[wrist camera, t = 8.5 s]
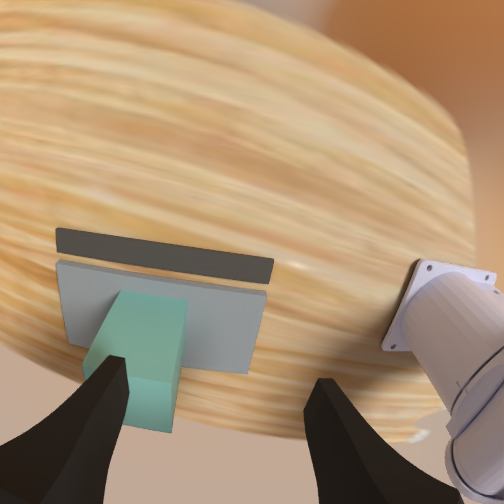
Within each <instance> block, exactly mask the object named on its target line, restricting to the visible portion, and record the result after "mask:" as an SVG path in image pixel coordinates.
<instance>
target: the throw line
mask: <svg viewBox="0 0 504 504" xmlns="http://www.w3.org/2000/svg"><path fill="white" fill-rule="evenodd" d="M56 244H57V252H61V253H66V254H72V255H78V256H84V257H89V258H95V259H101V260H107V261H113V262H119V263H126V264H132V265H138V266H145V267H151V268H158V269H164V270H171V271H177V272H184V273H191V274H198V275H205V276H212V277H219V278H226V279H234V280H241V281H249V282H256V283H264V284H269V281H270V277H271V272H272V268H273V264H274V259H272V258H265V257H258V256H251V255H244V254H237V253H230V252H223V251H216V250H209V249H202V248H195V247H188V246H181V245H174V244H167V243H160V242H154V241H147V240H140V239H133V238H126V237H119V236H112V235H106V234H99V233H92V232H85V231H78V230H72V229H65V228H56Z"/></svg>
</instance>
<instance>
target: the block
mask: <svg viewBox="0 0 504 504" xmlns="http://www.w3.org/2000/svg"><path fill="white" fill-rule="evenodd" d="M187 306H188V301H187V300H181V299H174V298H167V297H161V296H155V295H148V294H142V293H136V292H130V291H125V290H121V291H120V293H119V294H118V296H117V298H116V300H115V302H114V303H113V305H112V307H111V309H110V311H109V313H108V314H107V316H106V318H105V320H104V322H103V324H102V326H101V328H100V330H99V331H98V333H97V335H96V337H95V339H94V341H93V343H92V345H91V347H90V349H89V351H88V353H87V355H86V357H85V359H84V361H83V363H82V369H83V373H84V377H85V381H86V380H87V379H88V378H89V377H90V376H91V374H92V373H93V372H94V371H95V370H96V369H97V368H98V367H99V365H100V364H101V363H102V362H103V361H104V360H105V359H106V357H107V356H109V355H114V356H119V357H124V358H125V361H126V369H127V377H128V384H129V391H130V394H129V399H128V404H127V409H126V414H125V417H124V421H123V425H128V426H133V427H138V428H143V429H148V430H154V431H160V432H166V433H172V426H173V418H174V412H175V405H176V398H177V392H178V385H179V379H180V373H181V366H182V360H183V354H184V344H185V330H186V318H187Z"/></svg>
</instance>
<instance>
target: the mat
mask: <svg viewBox="0 0 504 504" xmlns="http://www.w3.org/2000/svg"><path fill="white" fill-rule="evenodd" d="M56 268H57V277H58V285H59V292H60V299H61V305H62V311H63V317H64V323H65V328H66V333H67V338H68V343H69V344H71V345H75V346H79V347H83V348H87V349H90V347H91V345H92V343H93V341H94V339H95V337H96V335H97V333H98V331H99V330H100V328H101V326H102V324H103V322H104V320H105V318H106V316H107V314H108V313H109V311H110V309H111V307H112V305H113V303H114V302H115V300H116V298H117V296H118V294H119V293H120V291H121V290H125V291H130V292H136V293H142V294H148V295H155V296H161V297H167V298H174V299H181V300H187V301H188V306H187V318H186V330H185V344H184V354H183V360H182V366H181V367H188V368H195V369H203V370H211V371H219V372H229V373H239V374H248V370H249V366H250V363H251V359H252V355H253V351H254V347H255V343H256V339H257V335H258V331H259V327H260V323H261V319H262V314H263V310H264V306H265V302H266V298H267V294H266V291H260V290H252V289H245V288H237V287H229V286H222V285H215V284H208V283H201V282H194V281H187V280H180V279H173V278H167V277H160V276H154V275H147V274H141V273H135V272H129V271H123V270H117V269H111V268H105V267H99V266H93V265H88V264H82V263H76V262H71V261H66V260H59V261H58V262H57V263H56Z"/></svg>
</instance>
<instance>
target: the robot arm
mask: <svg viewBox="0 0 504 504" xmlns="http://www.w3.org/2000/svg"><path fill="white" fill-rule="evenodd" d="M429 265H430V266H429ZM428 266H429V268H427V267H428ZM496 278H497V274H496V273H494V272H492V271H487V270H482V269H477V268H471V267H466V266H461V265H456V264H450V263H445V262H440V261H434V260H429V259H421V260H419V261H418V263H417V265H416V268H415V270H414V273H413V275H412V278H411V280H410V283H409V285H408V288H407V290H406V292H405V295H404V297H403V299H402V302H401V304H400V306H399V308H398V311H397V313H396V315H395V317H394V320H393V322H392V324H391V326H390V328H389V330H388V332H387V334H386V336H385V338H384V340H383V342H382V345H381V347H382V349H383V350H384V351H412V352H413V354H414V356H415V357H416V359H417V360H418V362H419V363H420V365H421V367H422V368H423V370H424V371H425V373H426V375H427V376H428V378H429V380H430V381H431V383H432V384H433V386H434V388H435V389H436V391H437V393H438V394H439V396H440V398H441V399H442V401H443V403H444V405H445V406H446V408H447V410H448V412H449V413H450V415H451V420H450V421H449V423H448V424H447V425H446V428H447V430H448V432H449V434H450V435H451V437H452V438H451V439H450V441H449V442H448V444H447V447H446V451H445V465H446V469H447V473H448V475H449V478H450V479H451V481H452V483H453V485H454V486H455V487H456V488H454V487H452V486H449V485H447V484H445V483H443V482H441V481H439V480H437V479H435V478H433V477H432V476H430V475H428V474H426V473H425V472H423V471H422V470H420V469H419V468H417V467H416V466H414V465H413V464H411V463H410V462H409V461H407V460H406V459H405V458H403V457H402V456H401V455H400V454H399V453H397V452H396V451H395V450H394V449H393V448H392V447H391V446H390V445H388V444H387V443H386V442H385V441H384V440H383V439H382V438H381V437H380V436H379V435H378V434H377V433H376V431H375V430H374V429H373V428H372V427H371V426H370V425H369V424H368V423H367V422H366V420H365V419H364V418H363V417H362V416H361V414H360V413H359V412H358V411H357V409H356V408H355V407H354V406H353V404H352V403H351V402H350V400H349V399H348V398H347V397H346V395H345V394H344V393H343V391H342V390H341V389H340V387H339V386H338V385H337V383H336V382H335V381H334V379H333V378H318V380H317V382H316V384H315V386H314V389H313V391H312V393H311V395H310V397H309V400H308V402H307V404H306V406H305V408H304V410H303V411H304V423H305V433H306V437H307V442H308V446H309V451H310V454H311V459H312V463H313V467H314V472H315V476H316V481H317V487H318V497H319V504H464V502H463V500H462V497H461V495H460V493H461V494H463V495H464V496H465V497H467V498H469V499H471V500H473V501H476V502H480V503H483V504H504V294H503V293H502V292H500V291H499V290H498V289H497V288H496V287H495V286H494V283H495V281H496ZM392 345H393V346H392ZM129 394H130V391H129V384H128V377H127V369H126V361H125V358H124V357H119V356H114V355H109V356H107V357H106V359H105V360H104V361H103V362H102V363H101V364H100V365H99V367H98V368H97V369H96V370H95V371H94V372H93V373H92V374H91V376H90V377H89V378H88V379H87V380H86V381H85V382H84V383H83V384H82V385H81V386H80V387H79V388H78V389H77V390H76V391H75V392H74V393H73V394H72V395H71V396H70V397H69V398H68V399H67V400H66V401H65V402H64V403H63V404H62V405H60V406H59V407H58V408H57V409H56V410H55V411H53V412H52V413H51V414H50V415H49V416H47V417H46V418H45V419H43V420H42V421H41V422H40V423H38V424H36V425H35V426H33V427H32V428H31V429H29V430H28V431H26V432H25V433H23V434H21V435H20V436H18V437H16V438H14V439H12V440H10V441H8V442H7V443H5V444H3V445H1V446H0V504H103V500H104V492H105V485H106V479H107V474H108V468H109V464H110V461H111V458H112V454H113V451H114V448H115V445H116V441H117V439H118V435H119V433H120V430H121V427H122V424H123V421H124V417H125V414H126V409H127V404H128V399H129Z"/></svg>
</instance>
